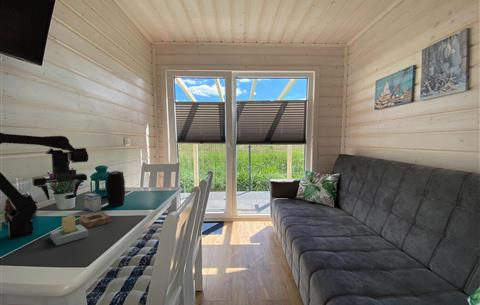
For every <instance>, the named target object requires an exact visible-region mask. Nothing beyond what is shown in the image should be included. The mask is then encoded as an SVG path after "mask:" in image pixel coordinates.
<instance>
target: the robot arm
mask: <svg viewBox="0 0 480 305" xmlns="http://www.w3.org/2000/svg"><path fill="white" fill-rule="evenodd" d="M2 144H18V145H32V146H35V145H36V146H43V147H47V148H49V149H48V150H47V151H45V154H46V155H51V167H52V169H51V170H52V177H50V178H49V177H48V178H46V177H45V176H41V177H40V176H39V177H33V178H32V179H31V182H32V186H33V187H37V188H40V189H42V191H43V193H44V195H45V197H46V199H47V201H50V192H49V189H48V187H49V186H48V183H63V182H64V183H65V182H67V183H68V182H69V183H70V182H71V181H73V186H72V188H73V190H72V196H73V197H75V196H76V195H77V191H78V190H79V187H80V185H81V184H82V183H84V182H85V181H87V180H88V175H87V174H85V173H82V172H81V173H77V169H70V167H69V161H70V162H71V163H73V164H75V163H87V162H88V161H89V153H88V151H87V148H86V147H80V148H75V147H73V145H72V144H71V143H70V139H68V137H67V136H65V135H49V136H48V135H47V136H37V135H27V134H26V135H23V134H14V133H13V134H11V133H4V132H0V145H2ZM0 192H2V194H3V195H5V197H6V198H7V199H8V201H9V202H10V204H11V206H12V209H11V210H10V211H9V212H8V213H7V214H6V216H7V217H8V219H9V220H8V222H7V224H8V227H7V228H8V239H9V240H11V239H12V240H13V239H17V238H22V237H26V236H29V235H33V232H34V221H33V220H32V216H33V214H35V213H36V211H37V210H38V205H37V204H38V202H37V201H36V200H34V199H33V197H32V195H30V194H29V193H24V194H22V193H21V192H20V191H19V189H17V188H16V187H15V186H14V185H13V183H11V182H10V181H9V179H7V178H6V176H4V174H3V173H2V172H1V171H0Z"/></svg>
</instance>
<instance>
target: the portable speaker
mask: <svg viewBox="0 0 480 305" xmlns="http://www.w3.org/2000/svg"><path fill="white" fill-rule="evenodd" d="M106 176H107V177H106V197H107V204H108V205H109V206H110V207H112V208H116V207H119V206H120V205H124V203H125V196H126V181H125V176H124V172H123V171H119V170H118V171H116V170H115V171H114V170H113V171H111V172H107V175H106Z"/></svg>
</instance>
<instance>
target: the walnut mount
mask: <svg viewBox="0 0 480 305" xmlns="http://www.w3.org/2000/svg"><path fill="white" fill-rule="evenodd" d="M109 223H112V217H111V216H110V215H108V214H106V213H105V212H98V213H94V214H90V215H85V216H80V217H78V225H79V224H81V225H82V226H83V227H85V228H86V229H89V228H93V227H97V226H100V225H101V226H102V225H105V224H109Z"/></svg>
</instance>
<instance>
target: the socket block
mask: <svg viewBox="0 0 480 305" xmlns="http://www.w3.org/2000/svg"><path fill="white" fill-rule="evenodd" d="M75 225H76V232H73V233H69V234H65V235H63V233H62V228H60V229H59V228H58V229H55V230H51V231H49V238H50V240H51V241H52V242H53V243H54V245H55V246H59V245H60V246H61V245H63V244H67V243H71V242H74V241H78V240H81V239H84V238H88V237H89V230H88V228H85V227H83V226H82V225H81V224H79V223H78V224H75Z"/></svg>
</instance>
